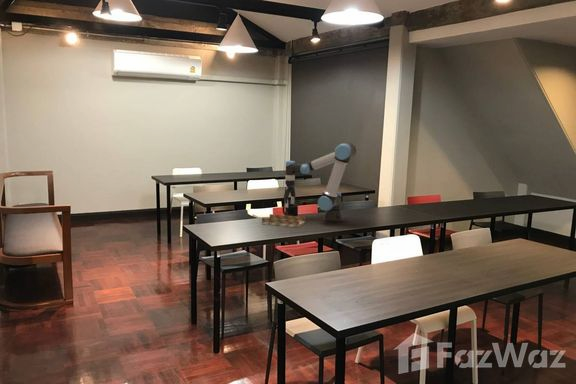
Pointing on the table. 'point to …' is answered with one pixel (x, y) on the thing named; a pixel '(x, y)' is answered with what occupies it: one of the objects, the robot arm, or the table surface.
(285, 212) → the mug
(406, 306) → the table surface
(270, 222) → the brown lumpy flat block
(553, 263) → the table surface
